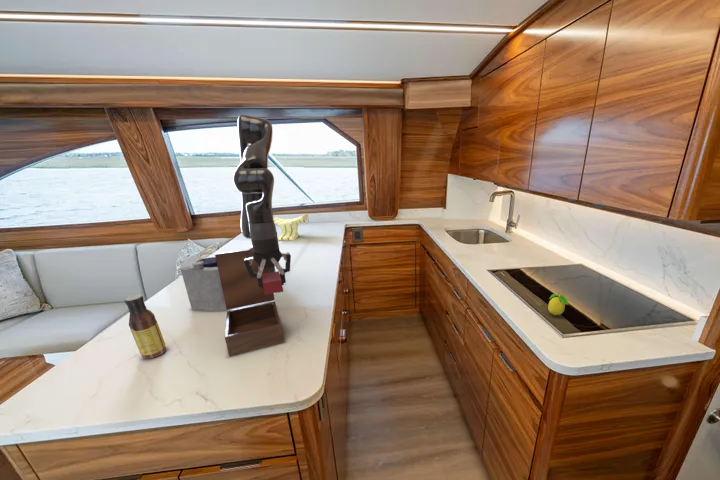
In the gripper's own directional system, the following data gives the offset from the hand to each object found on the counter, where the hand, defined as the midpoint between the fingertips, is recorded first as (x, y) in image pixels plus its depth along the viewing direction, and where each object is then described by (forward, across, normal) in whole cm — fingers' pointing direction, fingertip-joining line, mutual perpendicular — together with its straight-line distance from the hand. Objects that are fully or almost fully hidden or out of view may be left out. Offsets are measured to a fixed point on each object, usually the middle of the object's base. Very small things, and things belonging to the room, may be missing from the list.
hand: (272, 285), depth 97 cm
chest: (+17, +8, -2) cm, 19 cm away
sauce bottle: (+18, +37, -4) cm, 41 cm away
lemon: (+18, -94, +36) cm, 102 cm away
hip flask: (+18, +24, -31) cm, 43 cm away
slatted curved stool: (+18, -18, -141) cm, 143 cm away
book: (+1, 0, 0) cm, 1 cm away
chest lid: (0, +8, -13) cm, 15 cm away
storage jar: (+18, +24, -50) cm, 58 cm away
